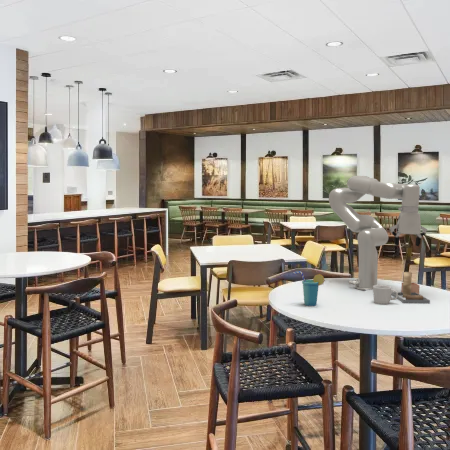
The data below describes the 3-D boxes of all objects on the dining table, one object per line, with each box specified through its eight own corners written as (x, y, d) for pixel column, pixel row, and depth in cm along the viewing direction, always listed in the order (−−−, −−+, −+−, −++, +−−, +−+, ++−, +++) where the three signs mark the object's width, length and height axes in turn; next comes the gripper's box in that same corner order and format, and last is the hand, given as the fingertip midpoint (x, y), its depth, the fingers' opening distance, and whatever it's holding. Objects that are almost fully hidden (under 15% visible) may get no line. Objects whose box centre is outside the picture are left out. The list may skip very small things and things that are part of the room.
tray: (403, 304, 210) (403, 299, 210) (390, 296, 226) (391, 292, 226) (429, 304, 210) (429, 300, 210) (415, 296, 226) (415, 292, 226)
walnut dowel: (407, 302, 211) (408, 295, 211) (405, 301, 214) (405, 294, 214) (423, 302, 211) (423, 295, 211) (420, 301, 214) (420, 294, 214)
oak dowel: (404, 298, 220) (405, 273, 219) (401, 296, 223) (402, 271, 222) (411, 298, 220) (412, 273, 218) (409, 296, 223) (410, 271, 222)
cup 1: (292, 305, 207) (292, 272, 206) (293, 301, 214) (293, 269, 213) (324, 307, 204) (324, 273, 203) (324, 303, 211) (324, 270, 210)
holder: (406, 296, 227) (406, 284, 227) (401, 293, 234) (401, 282, 233) (419, 296, 227) (419, 285, 227) (414, 293, 233) (414, 282, 233)
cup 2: (397, 303, 213) (397, 285, 212) (397, 307, 205) (398, 289, 205) (372, 301, 216) (373, 284, 216) (372, 305, 209) (372, 287, 208)
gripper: (393, 210, 219) (391, 246, 221) (431, 211, 218) (428, 247, 220) (389, 209, 227) (386, 243, 228) (425, 210, 226) (422, 245, 227)
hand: (407, 245), depth 224 cm, fingers open, 9 cm apart
